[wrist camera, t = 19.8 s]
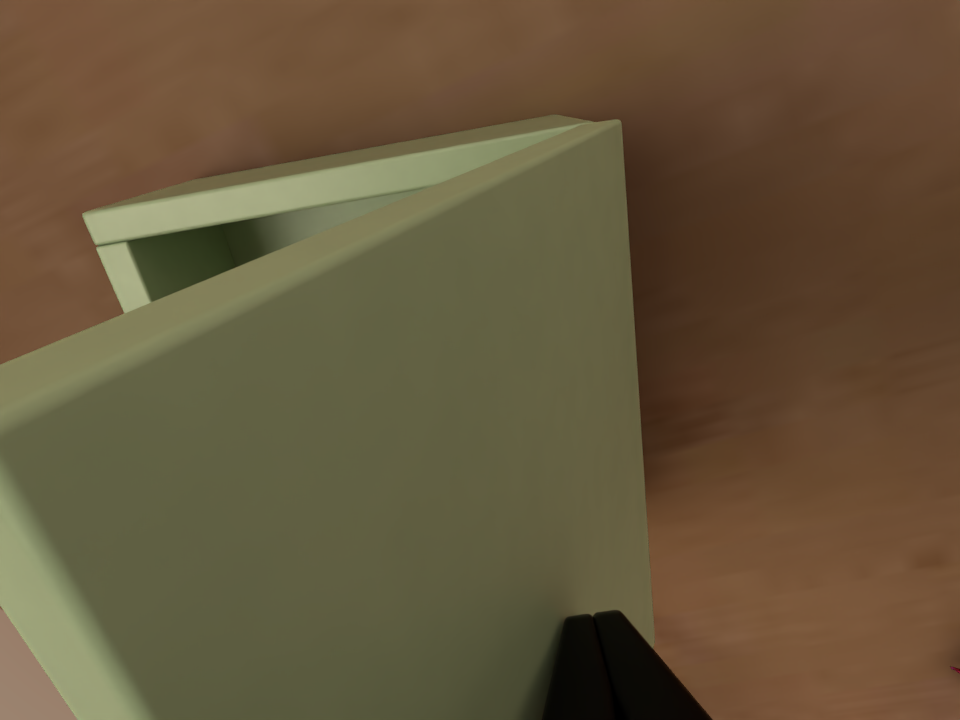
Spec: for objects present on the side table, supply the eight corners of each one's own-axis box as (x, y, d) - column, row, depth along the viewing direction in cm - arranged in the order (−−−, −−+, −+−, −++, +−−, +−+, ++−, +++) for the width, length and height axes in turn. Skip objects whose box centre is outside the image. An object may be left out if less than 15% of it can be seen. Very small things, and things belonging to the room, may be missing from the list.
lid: (451, 1276, 8) (506, 1322, 8) (-138, 414, 2) (-40, 432, 2) (626, 633, 16) (655, 641, 16) (579, 124, 11) (622, 117, 11)
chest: (321, 545, 22) (280, 671, 17) (192, 179, 17) (78, 213, 12) (598, 505, 22) (636, 623, 17) (557, 113, 16) (595, 120, 11)
